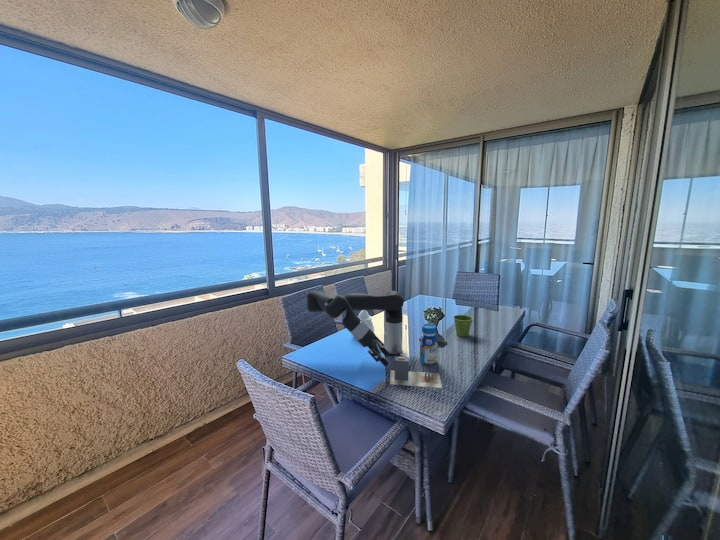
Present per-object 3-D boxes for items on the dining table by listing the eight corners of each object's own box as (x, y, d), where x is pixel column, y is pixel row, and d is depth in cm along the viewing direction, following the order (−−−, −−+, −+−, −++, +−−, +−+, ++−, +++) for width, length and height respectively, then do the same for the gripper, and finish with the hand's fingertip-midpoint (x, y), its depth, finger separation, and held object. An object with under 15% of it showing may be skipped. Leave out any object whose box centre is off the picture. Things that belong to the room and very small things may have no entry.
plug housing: (394, 379, 128) (394, 359, 126) (394, 374, 131) (394, 355, 130) (408, 380, 127) (408, 360, 125) (408, 375, 131) (408, 356, 129)
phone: (425, 335, 179) (447, 342, 168) (425, 337, 179) (447, 343, 169) (418, 339, 173) (441, 346, 163) (418, 341, 173) (441, 348, 163)
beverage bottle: (424, 358, 150) (425, 321, 147) (439, 363, 145) (441, 325, 141) (416, 364, 143) (417, 326, 140) (432, 370, 138) (433, 330, 135)
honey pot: (377, 337, 178) (377, 309, 175) (358, 341, 173) (357, 312, 170) (369, 330, 190) (369, 304, 187) (350, 333, 185) (350, 306, 182)
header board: (389, 387, 124) (389, 377, 123) (390, 373, 136) (390, 364, 135) (442, 391, 121) (442, 381, 120) (438, 376, 133) (439, 367, 132)
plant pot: (469, 331, 186) (470, 314, 184) (474, 338, 175) (475, 321, 173) (450, 331, 187) (451, 314, 186) (454, 338, 176) (455, 320, 174)
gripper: (359, 332, 135) (383, 357, 135) (353, 345, 121) (380, 373, 121) (370, 322, 133) (395, 348, 133) (366, 334, 119) (393, 363, 120)
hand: (387, 360), depth 127 cm, fingers open, 8 cm apart
